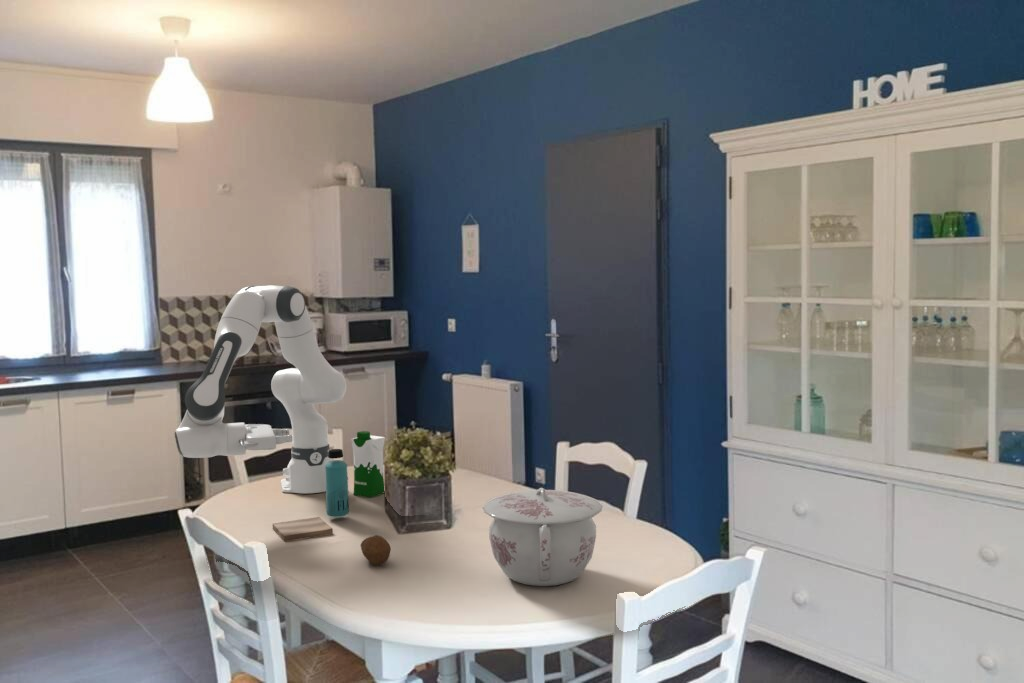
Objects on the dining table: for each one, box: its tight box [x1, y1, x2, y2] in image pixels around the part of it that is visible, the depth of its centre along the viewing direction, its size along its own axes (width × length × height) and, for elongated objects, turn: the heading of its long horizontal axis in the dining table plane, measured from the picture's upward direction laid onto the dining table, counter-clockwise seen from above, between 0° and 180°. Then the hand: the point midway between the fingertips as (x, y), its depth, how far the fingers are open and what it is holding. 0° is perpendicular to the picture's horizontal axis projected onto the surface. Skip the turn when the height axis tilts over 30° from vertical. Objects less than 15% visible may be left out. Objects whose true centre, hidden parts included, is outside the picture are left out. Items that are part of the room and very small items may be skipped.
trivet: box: [272, 516, 334, 542], centre depth 245 cm, size 13×13×2 cm
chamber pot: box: [481, 487, 603, 587], centre depth 207 cm, size 28×28×21 cm
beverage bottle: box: [324, 448, 350, 518], centre depth 256 cm, size 6×7×20 cm
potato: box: [360, 534, 392, 566], centre depth 218 cm, size 7×12×7 cm, turn 36°
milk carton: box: [350, 430, 386, 499], centre depth 283 cm, size 9×9×20 cm
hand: (290, 435), depth 250 cm, fingers open, 8 cm apart
